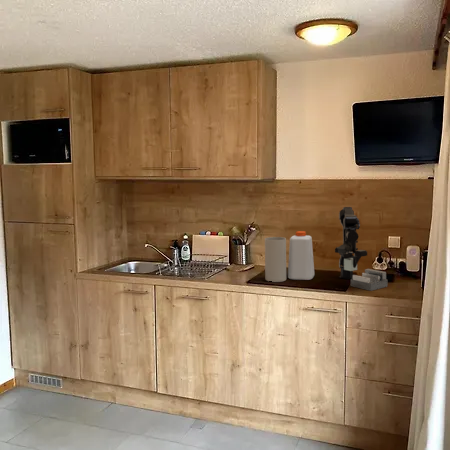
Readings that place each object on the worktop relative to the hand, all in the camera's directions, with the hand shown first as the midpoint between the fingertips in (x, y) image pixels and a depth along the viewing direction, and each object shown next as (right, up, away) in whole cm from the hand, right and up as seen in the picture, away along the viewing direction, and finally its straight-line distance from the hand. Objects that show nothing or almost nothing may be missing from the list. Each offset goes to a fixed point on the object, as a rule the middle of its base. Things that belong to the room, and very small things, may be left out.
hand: (350, 266), depth 277 cm
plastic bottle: (-23, -9, +28) cm, 38 cm away
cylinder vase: (-39, -10, +23) cm, 46 cm away
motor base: (+11, -11, +2) cm, 15 cm away
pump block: (0, -2, 0) cm, 2 cm away
